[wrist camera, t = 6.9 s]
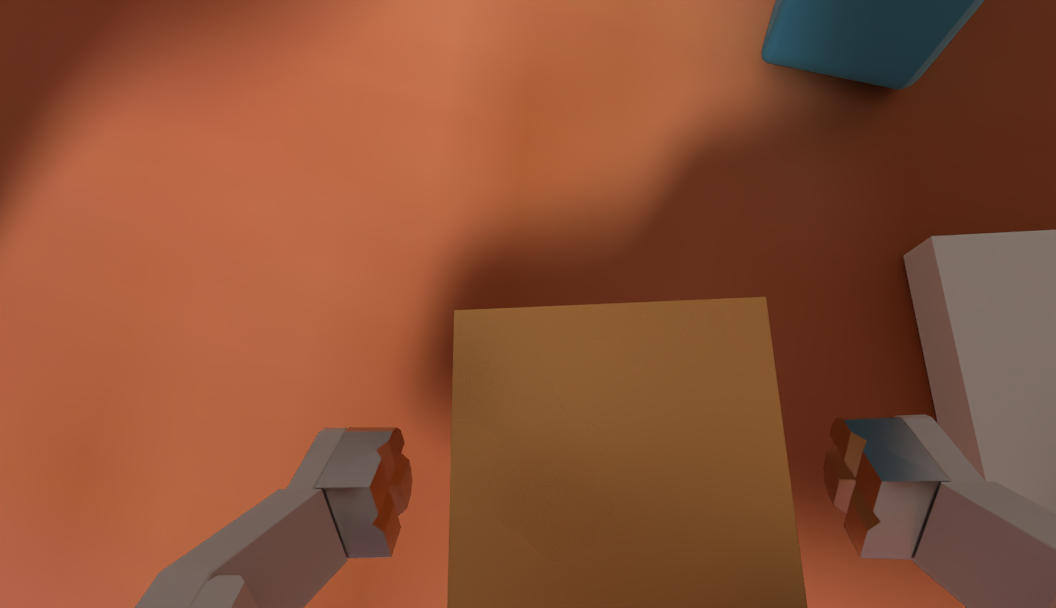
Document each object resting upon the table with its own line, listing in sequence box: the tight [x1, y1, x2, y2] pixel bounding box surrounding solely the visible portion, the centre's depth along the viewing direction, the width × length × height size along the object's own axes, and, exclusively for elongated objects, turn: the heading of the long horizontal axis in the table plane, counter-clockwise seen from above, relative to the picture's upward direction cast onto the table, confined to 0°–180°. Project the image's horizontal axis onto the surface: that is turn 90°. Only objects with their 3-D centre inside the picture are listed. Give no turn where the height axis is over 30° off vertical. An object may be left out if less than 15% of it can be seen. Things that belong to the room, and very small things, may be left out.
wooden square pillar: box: [447, 297, 807, 608], centre depth 12 cm, size 4×4×10 cm
